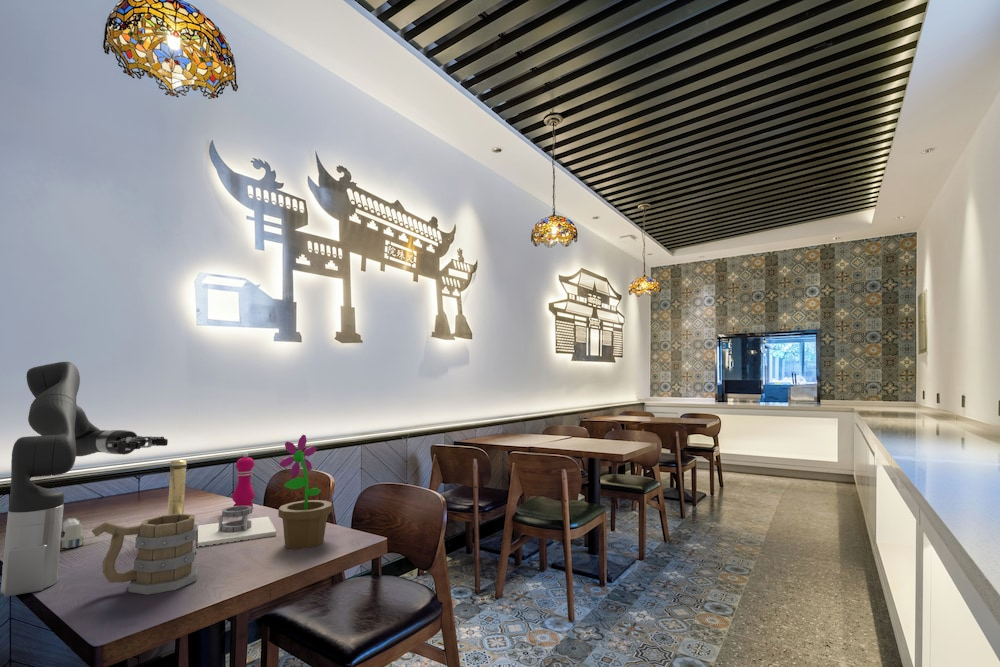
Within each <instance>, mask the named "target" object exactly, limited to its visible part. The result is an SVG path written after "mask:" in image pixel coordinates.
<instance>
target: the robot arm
mask: <svg viewBox="0 0 1000 667" xmlns="http://www.w3.org/2000/svg"><path fill="white" fill-rule="evenodd" d="M26 383H27V386H28V389H29V391H30V392H31V394H32V396H33V397H34V398H35V399H34V400H33V401H32V403H31V404H30V406H29V412H28V415H27V416H28V417H27V420H28V421H27V422H28V424H29V427H31V429H32V430H33V431H35V433H37V434H38V435H32V436H22V437H19V438H17V439H16V440H15V442H14V444H13V446H12V451H11V467H10V468H11V470H10V471H11V473H10V490H9V491H10V494H9V502H8V511H7V519H6V522H7V523H6V527H5V528H6V529H5V531H6V532H5V541H4V551H3V562H2V570H1V571H2V572H1V574H2V575H1V584H0V585H1V586H0V594H2V595H3V596H4V597H11V596H17V595H22V594H28V593H34V592H40V591H43V590H44V589H47V588H49V587H51V586H54V585H55V584H56V583H57V582H58V574H59V565H60V551H61V542H62V541H61V538H62V530H61V529H62V523H63V518H64V517H63V515H64V505H65V504H64V503H65V494H64V492H63V491H61V490H58V489H51V488H46V487H42V486H39V485H37V484H35V483H33V482H32V480H31V478H38V477H39V478H40V477H41V478H42V477H43V478H44V477H50V476H59V475H63V474H67V473H69V472H70V471H71V470H72V469H73V467H74V465H75V462H76V459H77V458H76V457H85V456H90V455H93V454H96V453H105V454H110V455H128V454H131V453H132V452H134V451H135V450H140V449H141V448H142V449H145V448H151V447H153V446H154V447H160V446H161V447H167V446H168V444H169V442H168V438H165V437H164V436H147V435H146V436H143V435H137V433H136V432H134V431H133V430H127V429H126V430H125V429H123V430H122V429H120V430H119V429H112V430H110V429H109V430H106V429H103V430H102V429H99V428H98V427H97V426H95V425H94V424H93V423H92V422H91V421H90V420H89V419H88V417H87V414H86V413H85V412H86V411H84V409H83V408H82V407H81V406H80V405H78V404H77V395H78V392H79V389H80V384H81V377H80V372H79V368H77V366H76V365H75V364H74V363H73V362H70V361H59V362H53V363H47V364H44V365H39V366H34V367H31V368H29V369H28V370H27V372H26ZM146 444H147V445H146Z"/></svg>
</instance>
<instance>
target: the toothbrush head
mask: <svg viewBox="0 0 1000 667" xmlns="http://www.w3.org/2000/svg"><path fill="white" fill-rule="evenodd" d="M61 532H63V533H64V535H63V536H61V541H60V542H61V549H71V548H76V547H81V546H84V542H85V541H84V540H85V538H86V533H83V524H82V523H81V520H80V519H78V518H76V517H70V518H66V519H65V520H64V521H62V529H61Z"/></svg>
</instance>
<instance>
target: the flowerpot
mask: <svg viewBox="0 0 1000 667" xmlns="http://www.w3.org/2000/svg"><path fill="white" fill-rule="evenodd" d="M307 442H308V440H307V436H306V434H302V435H301V436H300V438H299V439H298V443H297V447H296V445H295V444H294V443H293V442H291V441H286V442H284V448H285V450H286V451H287V452H288V453H289V454H293V456H287V457H285V458H283V459H282V460H281V461H280V462H279V466H280V467H281V468H282V467H285V468H287V467H289V466H291V465H292V467H291V469H290V477H291V479H290V480H289V481H287V482H286V483H284V485H283V487H285V488H287V489H290V490H299V489H301V488H303V487H304V497H303V498H304V500H300V501H293V502H289V503H286V504H282V505H280V507H279V508H278V514H277V515H278V516H277V517H278V518H281V519H282V524H283V525H282V526H283V528H282V529H283V538H284V545H285V547H286V548H288V549H294V550H299V549H309V548H313V547H317V546H319V545H321V544H323V543H324V539H325V535H326V534H325V533H326V527H327V521H328V520H327V519H328V515H330V514H331V513H332V510H333V508H332V507H333V503H332V502H330V501H328V500H321V499H320V500H319V499H311V500H309V496H310V497H313V496H317V495H318V494H320V493H321V489H319V488H318V487H312V488H309V478H308V471H309V472H311V471H312V469H313V465H312V463H311V461H309V460H308V459H305V457H310V456H311V455H314V454H315V453H316V451H317V447H316V446H309V447H306V444H307ZM297 448H298V449H297ZM303 450H304V451H303ZM300 463H301V466H300ZM301 467H302V470H303V477H299V476H298V475H299V472H300V469H301Z"/></svg>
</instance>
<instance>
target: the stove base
mask: <svg viewBox="0 0 1000 667" xmlns="http://www.w3.org/2000/svg"><path fill="white" fill-rule="evenodd" d="M252 513H253V508H252V506H234V505H233V506H229V507H225V508H224V509H221V515H218V522H216V523H214V522H213V523H209V524H208V523H206V524H201V525H200V524H198V525H197V531H198V533H197V548H200V547H199V546H202V547H206V546H205V545H209V546H214V545H213V544H216V545H220V544H219V543H223V544H227V543H226V542H229V543H234V541H236V542H241V541H240V540H243V541H247V540H248V539H249V540H255V539H262V538H269V537H274V536H277V530H276V528H275V526H274V524H273V522H272V520H271V519H270V516H260V517H255V518H248V516H249V515H250V514H252ZM238 517H241V519H235V520H229V521H223V520H224V519H223V518H238ZM249 540H248V541H249Z"/></svg>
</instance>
